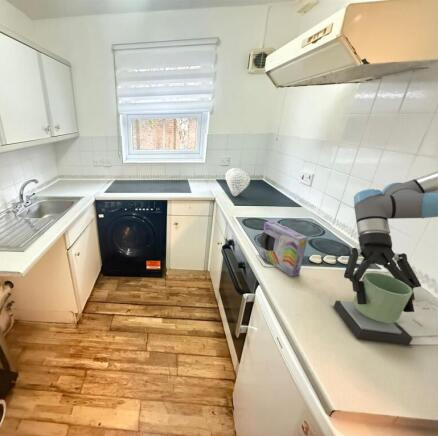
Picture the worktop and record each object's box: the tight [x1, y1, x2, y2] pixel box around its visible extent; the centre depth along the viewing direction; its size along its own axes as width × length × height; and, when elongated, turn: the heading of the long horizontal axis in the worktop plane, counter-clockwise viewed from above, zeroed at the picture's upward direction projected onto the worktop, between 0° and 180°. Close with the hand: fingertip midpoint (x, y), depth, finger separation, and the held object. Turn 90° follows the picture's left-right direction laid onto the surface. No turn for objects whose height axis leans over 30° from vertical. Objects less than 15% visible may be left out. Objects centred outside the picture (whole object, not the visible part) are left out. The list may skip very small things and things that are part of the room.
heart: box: [224, 167, 251, 197], centre depth 194 cm, size 28×16×22 cm, turn 175°
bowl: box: [352, 272, 414, 323], centre depth 70 cm, size 10×10×10 cm
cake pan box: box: [259, 220, 308, 277], centre depth 102 cm, size 19×5×18 cm, turn 18°
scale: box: [333, 300, 414, 347], centre depth 74 cm, size 13×13×4 cm
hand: (385, 307), depth 68 cm, fingers closed on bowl, 10 cm apart
